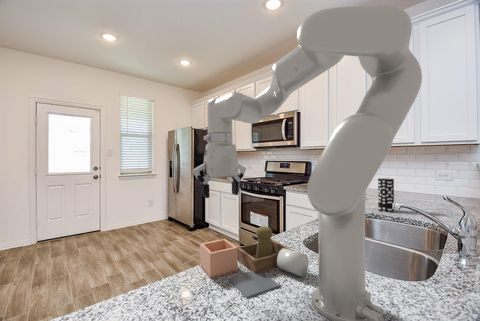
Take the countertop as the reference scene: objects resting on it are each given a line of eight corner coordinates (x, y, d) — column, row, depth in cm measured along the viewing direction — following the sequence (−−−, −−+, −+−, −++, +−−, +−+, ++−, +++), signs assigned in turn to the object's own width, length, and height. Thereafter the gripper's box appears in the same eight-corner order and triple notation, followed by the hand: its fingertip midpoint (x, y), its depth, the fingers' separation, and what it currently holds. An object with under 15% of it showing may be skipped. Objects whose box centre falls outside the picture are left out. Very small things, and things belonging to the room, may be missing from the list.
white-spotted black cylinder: (381, 208, 146) (380, 178, 146) (396, 210, 140) (395, 178, 140) (376, 210, 141) (376, 179, 141) (391, 213, 135) (391, 179, 135)
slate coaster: (279, 286, 58) (279, 285, 58) (246, 298, 53) (246, 296, 53) (258, 270, 67) (258, 268, 67) (228, 279, 62) (228, 277, 62)
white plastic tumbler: (308, 272, 66) (308, 251, 66) (299, 280, 61) (298, 258, 61) (287, 264, 70) (287, 245, 70) (277, 272, 66) (276, 251, 66)
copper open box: (237, 271, 67) (237, 247, 67) (210, 278, 63) (210, 253, 63) (225, 260, 74) (225, 238, 74) (200, 266, 70) (200, 243, 70)
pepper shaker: (252, 263, 72) (251, 228, 72) (259, 255, 77) (259, 224, 77) (270, 267, 69) (269, 231, 69) (276, 259, 74) (276, 226, 74)
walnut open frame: (294, 263, 71) (293, 250, 71) (255, 274, 64) (255, 260, 64) (271, 250, 82) (271, 239, 82) (236, 259, 75) (236, 247, 75)
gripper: (197, 137, 61) (198, 200, 61) (250, 139, 70) (251, 194, 70) (188, 140, 68) (189, 197, 68) (238, 141, 76) (239, 192, 76)
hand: (221, 195), depth 69 cm, fingers open, 9 cm apart
